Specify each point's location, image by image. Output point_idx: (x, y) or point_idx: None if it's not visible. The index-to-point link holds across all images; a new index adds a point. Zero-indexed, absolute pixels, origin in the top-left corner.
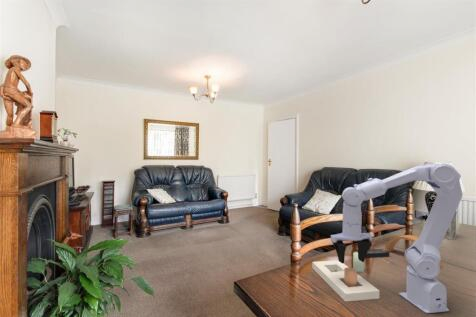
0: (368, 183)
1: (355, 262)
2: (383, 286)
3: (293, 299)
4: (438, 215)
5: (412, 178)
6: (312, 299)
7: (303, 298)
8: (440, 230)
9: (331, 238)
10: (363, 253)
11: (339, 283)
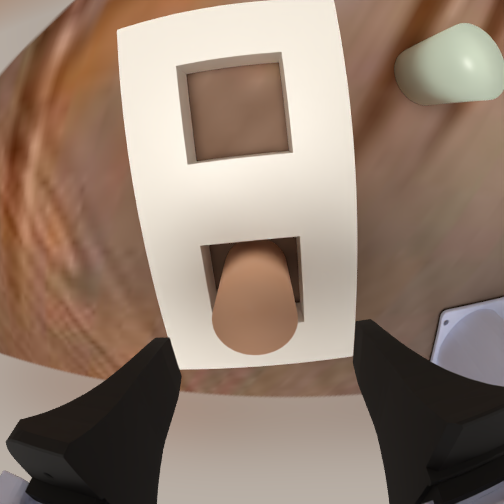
0: None
1: (421, 75)
2: (434, 249)
3: (20, 313)
4: None
5: None
6: (70, 321)
7: (44, 312)
8: None
9: (1, 498)
10: (375, 420)
11: (182, 296)
